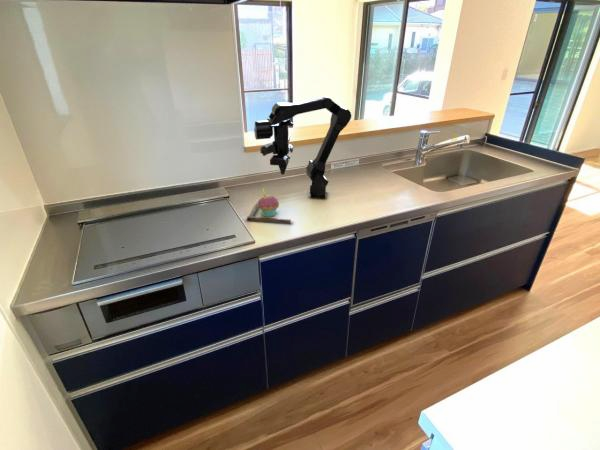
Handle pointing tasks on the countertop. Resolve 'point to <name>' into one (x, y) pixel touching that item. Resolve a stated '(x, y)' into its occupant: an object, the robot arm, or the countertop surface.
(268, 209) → the cupcake
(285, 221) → the corner guide
